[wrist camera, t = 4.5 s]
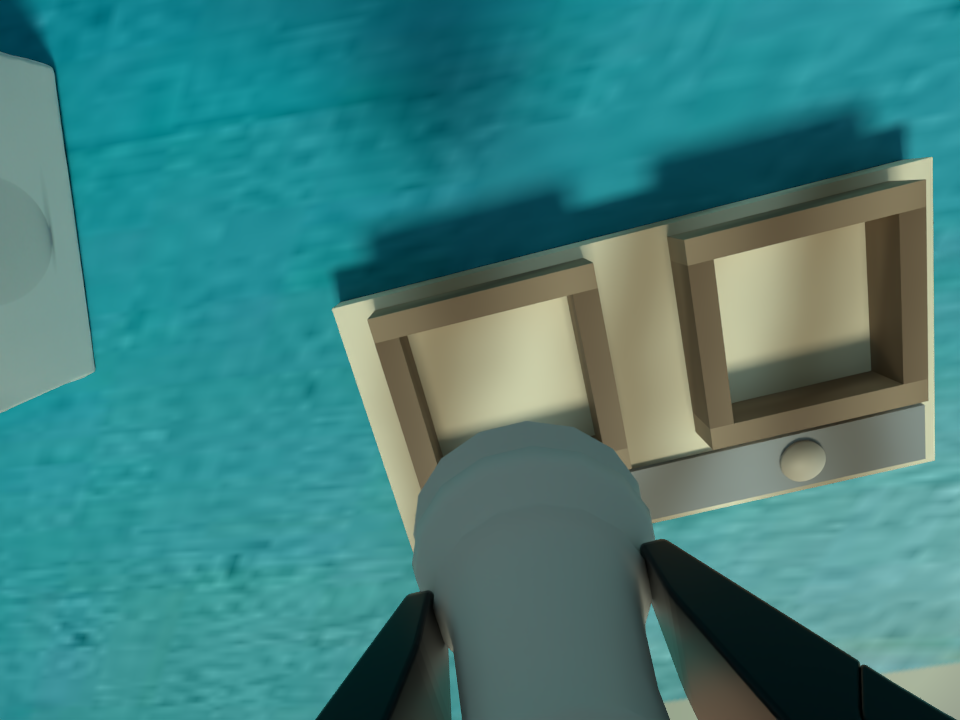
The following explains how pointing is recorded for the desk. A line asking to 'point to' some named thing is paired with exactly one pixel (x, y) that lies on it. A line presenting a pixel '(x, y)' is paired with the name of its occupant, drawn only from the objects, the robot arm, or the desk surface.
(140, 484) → the desk surface
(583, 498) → the rook chess piece
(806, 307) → the board
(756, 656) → the robot arm
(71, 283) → the skincare box
